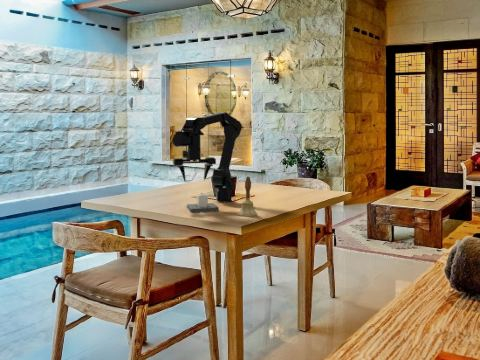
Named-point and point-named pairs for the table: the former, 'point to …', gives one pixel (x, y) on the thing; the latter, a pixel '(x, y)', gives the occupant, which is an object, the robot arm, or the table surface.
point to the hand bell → (247, 201)
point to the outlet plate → (202, 208)
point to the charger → (202, 200)
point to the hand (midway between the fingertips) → (194, 180)
